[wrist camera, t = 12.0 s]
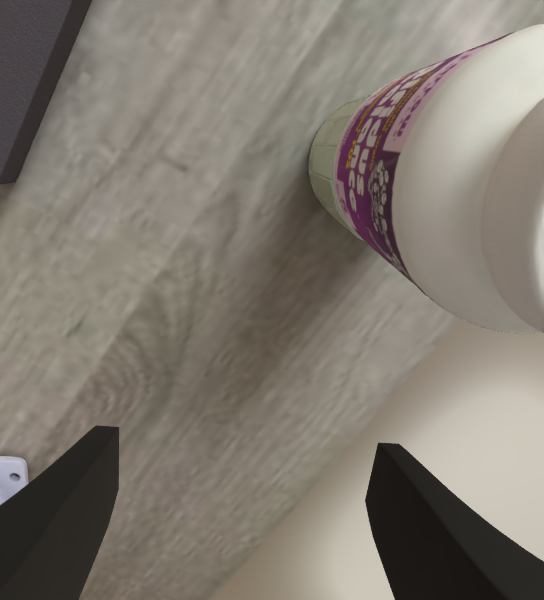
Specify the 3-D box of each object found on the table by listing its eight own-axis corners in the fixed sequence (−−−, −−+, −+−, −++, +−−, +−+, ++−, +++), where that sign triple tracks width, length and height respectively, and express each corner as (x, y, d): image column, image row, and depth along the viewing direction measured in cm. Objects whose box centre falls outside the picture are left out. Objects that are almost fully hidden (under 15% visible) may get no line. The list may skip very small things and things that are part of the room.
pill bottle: (347, 59, 13) (577, -123, 4) (517, 90, 14) (1057, -12, 5) (314, 241, 15) (425, 398, 6) (467, 262, 15) (788, 435, 6)
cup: (413, 230, 21) (470, 260, 15) (300, 218, 20) (320, 245, 15) (439, 107, 19) (513, 93, 14) (317, 91, 18) (345, 71, 13)
